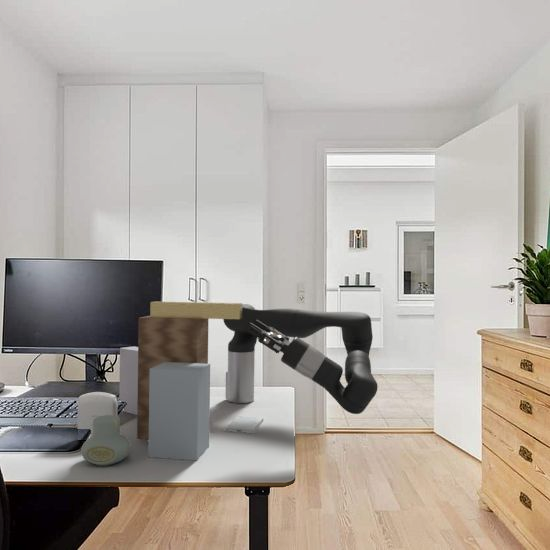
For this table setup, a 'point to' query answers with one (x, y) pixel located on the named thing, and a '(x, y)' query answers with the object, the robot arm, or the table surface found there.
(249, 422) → the hard drive
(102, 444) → the air freshener
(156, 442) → the block
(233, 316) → the bar
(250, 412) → the table surface
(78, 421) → the photo printer
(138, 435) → the stand
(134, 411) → the game console
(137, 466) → the table surface
